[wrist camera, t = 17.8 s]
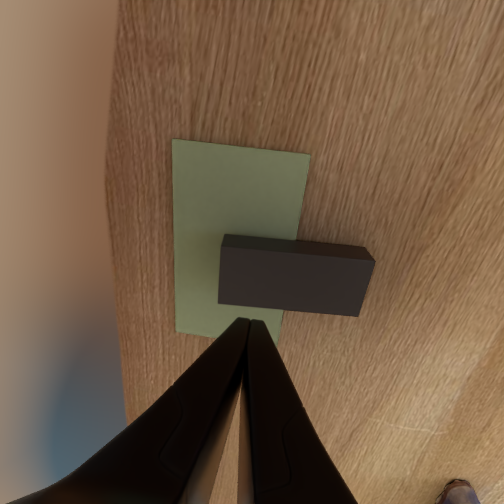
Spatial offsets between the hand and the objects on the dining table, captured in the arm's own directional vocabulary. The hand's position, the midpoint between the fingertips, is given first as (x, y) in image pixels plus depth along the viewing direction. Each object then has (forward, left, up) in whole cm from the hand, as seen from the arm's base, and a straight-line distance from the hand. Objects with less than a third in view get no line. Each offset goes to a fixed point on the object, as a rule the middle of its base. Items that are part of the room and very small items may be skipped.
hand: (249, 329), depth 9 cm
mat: (-4, -2, -13) cm, 13 cm away
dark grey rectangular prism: (-5, -1, -10) cm, 11 cm away
